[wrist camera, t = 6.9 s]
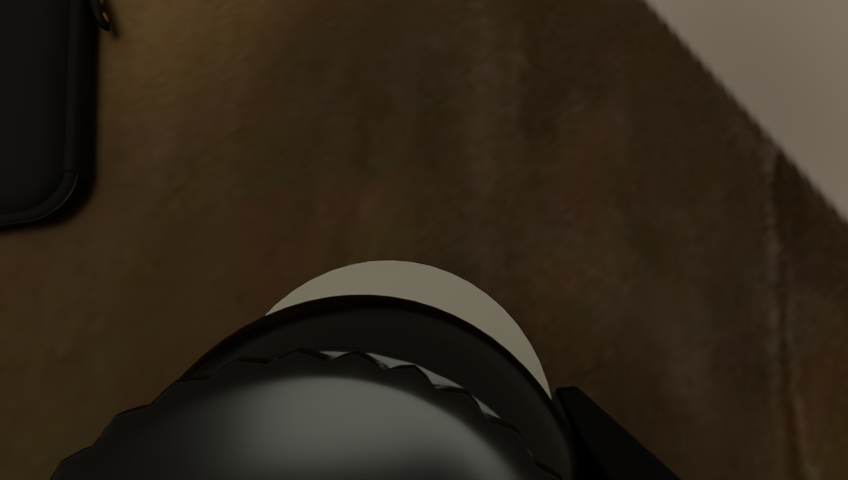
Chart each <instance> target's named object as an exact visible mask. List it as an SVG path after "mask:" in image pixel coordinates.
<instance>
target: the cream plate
mask: <svg viewBox="0 0 848 480" xmlns="http://www.w3.org/2000/svg"><path fill="white" fill-rule="evenodd" d="M341 295H382V296H392V297H398V298H403V299H408V300H413V301H417V302H420V303H423V304H427V305H430V306H433V307H436V308H438V309H441V310H443V311H446V312H448V313H451V314H453V315H455V316H457V317H459V318H461V319H463V320H465V321H467V322H469V323H470V324H472V325H474V326H476V327H477V328H479V329H480V330H482V331H483V332H485V333H486V334H488V335H489V336H491V337H492V338H494V339H495V340H496V341H497V342H499V343H500V344H501V345H502V346H503V347H505V348H506V349H507V350H508V351H510V352H511V353H512V354H513V355H514V356H515V357H516V358H517V359H518V360H519V361H520V362H521V363H522V364H523V365H524V366H525V367H526V368H527V369H528V370H529V371H530V373H531V374H532V375H533V376H534V377H535V379H536V380H537V381H538V382H539V383H540V384H541V386H542V387H543V388H544V390H545V391H546V393H547V394H548V396H549V397H550V398H551V395H550V391H549V387H548V383H547V380H546V378H545V375H544V372H543V369H542V367H541V364H540V362H539V360H538V358H537V356H536V354H535V352H534V350H533V348H532V346H531V344H530V342H529V341H528V339H527V338H526V336H525V335H524V334H523V332H522V331H521V329H520V328H519V326H518V325H517V324H516V322H515V321H514V320H513V319H512V318H511V317H510V316H509V315H508V313H507V312H506V311H505V310H504V309H503V308H502V307H501V306H500V305H499V304H497V303H496V302H495V301H494V300H493V299H492V298H491V297H489V296H488V295H487V294H486V293H484V292H483V291H481V290H480V289H478V288H477V287H475V286H474V285H472V284H471V283H469V282H468V281H466V280H464V279H462V278H460V277H458V276H456V275H454V274H452V273H449V272H446V271H443V270H441V269H438V268H435V267H432V266H428V265H423V264H418V263H413V262H404V261H392V260H390V261H370V262H364V263H359V264H353V265H349V266H345V267H342V268H339V269H336V270H333V271H330V272H327V273H325V274H323V275H321V276H319V277H316V278H314V279H312V280H310V281H308V282H307V283H305V284H304V285H302V286H300V287H299V288H297V289H295V290H294V291H292V292H291V293H290V294H289V295H287V296H286V297H285V298H284V299H282V300H281V301H280V302H279V303H277V304H276V305H275V306H274V307H273V308H272V309H271V310H270V311H269V312H268V313H267V314H266V315H268V314H271V313H273V312H276V311H278V310H281V309H283V308H286V307H289V306H292V305H295V304H299V303H302V302H305V301H309V300H315V299H320V298H325V297H331V296H341ZM266 315H265V316H266Z"/></svg>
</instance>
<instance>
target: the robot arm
mask: <svg viewBox="0 0 848 480" xmlns="http://www.w3.org/2000/svg"><path fill="white" fill-rule="evenodd" d="M551 400H552V401H553V403H554V404H555V406H556V407H557V409H558V411H559V413H560V414H561V416H562V418H563V420H564V421H565V423H566V425H567V427H568V429H569V431H570V433H571V435H572V437H573V440H574V442H575V444H576V446H577V448H578V450H579V453H580V456H581V459H582V461H583V464H584V467H585V470H586V472H587V475H588V479H589V480H681V479H680V478H679V477H678V476H677V475H676V474H674V473H673V472H672V471H671V470H670V469H669V468H668V467H667V466H665V465H664V464H663V463H662V462H661V461H660V460H659V459H658V458H656V457H655V456H654V455H653V454H652V453H651V452H650V451H649V450H647V449H646V448H645V447H644V446H643V445H642V444H641V443H640V442H638V441H637V440H636V439H635V438H634V437H633V436H632V435H631V434H629V433H628V432H627V431H626V430H625V429H624V428H623V427H622V426H620V425H619V424H618V423H617V422H616V421H615V420H614V419H613V418H611V417H610V416H609V415H608V414H607V413H606V412H605V411H604V410H603V409H601V408H600V407H599V406H598V405H597V404H596V403H595V402H594V401H592V400H591V399H590V398H589V397H588V396H587V395H586V394H585V393H583V392H582V391H581V390H580V389H579V388H577V387H574V386H571V387H562V388H556V389H554V390H553V392H552V397H551Z"/></svg>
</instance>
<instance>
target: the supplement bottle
mask: <svg viewBox="0 0 848 480" xmlns="http://www.w3.org/2000/svg"><path fill="white" fill-rule="evenodd" d="M50 480H589V479H588V475H587V472H586V470H585V467H584V464H583V461H582V459H581V456H580V453H579V450H578V448H577V446H576V444H575V442H574V440H573V437H572V435H571V433H570V431H569V429H568V427H567V425H566V423H565V421H564V420H563V418H562V416H561V414H560V413H559V411H558V409H557V407H556V406H555V404H554V403H553V401H552V400H551V398H550V397H549V396H548V394H547V393H546V391H545V390H544V388H543V387H542V386H541V384H540V383H539V382H538V381H537V380H536V379H535V377H534V376H533V375H532V374H531V373H530V371H529V370H528V369H527V368H526V367H525V366H524V365H523V364H522V363H521V362H520V361H519V360H518V359H517V358H516V357H515V356H514V355H513V354H512V353H511V352H510V351H508V350H507V349H506V348H505V347H503V346H502V345H501V344H500V343H499V342H497V341H496V340H495V339H494V338H492V337H491V336H489V335H488V334H486V333H485V332H483V331H482V330H480V329H479V328H477V327H476V326H474V325H472V324H470V323H469V322H467V321H465V320H463V319H461V318H459V317H457V316H455V315H453V314H451V313H448V312H446V311H443V310H441V309H438V308H436V307H433V306H430V305H427V304H423V303H420V302H417V301H413V300H408V299H403V298H398V297H392V296H382V295H341V296H331V297H325V298H320V299H315V300H309V301H305V302H302V303H299V304H295V305H292V306H289V307H286V308H283V309H281V310H278V311H276V312H273V313H271V314H268V315H266V316H264V317H262V318H260V319H258V320H256V321H254V322H252V323H250V324H248V325H246V326H244V327H242V328H241V329H239V330H238V331H236V332H235V333H233V334H231V335H230V336H228V337H227V338H225V339H223V340H222V341H221V342H220V343H218V344H217V345H216V346H214V347H213V348H212V349H210V350H209V351H208V352H207V353H205V354H204V355H203V356H202V357H201V358H200V359H199V360H197V361H196V362H195V363H194V364H193V365H192V366H191V367H190V368H189V369H188V370H187V371H186V372H185V373H184V374H183V375H182V376H181V377H180V378H179V379H178V380H176V381H174V382H173V383H172V384H171V385H170V386H169V387H167V388H166V389H165V390H164V391H163V392H162V393H161V394H160V395H159V396H158V397H157V398H156V399H155V400H154V401H153V402H152V403H151V404H148V405H142V406H139V407H136V408H132V409H129V410H126V411H123V412H121V413H119V414H117V415H116V416H115V417H114V418H113V419H112V420H111V422H110V423H109V424H108V425H107V426H106V427H105V429H104V430H103V432H102V434H101V436H100V437H99V438H98V439H97V441H96V442H95V443H94V444H93V445H92V446H89V447H87V448H84V449H82V450H80V451H78V452H76V453H74V454H73V455H71V456H69V457H67V458H65V459H64V460H62V461H61V462H60V463H59V465H58V466H57V468H56V470H55V471H54V473H53V475H52V476H51V478H50Z"/></svg>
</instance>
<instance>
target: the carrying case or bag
mask: <svg viewBox="0 0 848 480" xmlns="http://www.w3.org/2000/svg"><path fill="white" fill-rule="evenodd" d="M93 15H94V17H95V19H96V21H97V23H98V24H99V26H100V27H101V28H102V29H104V30H106V31H109V30H110V21H109V17H108V14H107V11H106V8H105V5H104V2H103V0H0V229H5V228H12V227H19V226H26V225H34V224H39V223H44V222H47V221H50V220H52V219H54V218H56V217H58V216H60V215H61V214H63V213H64V212H65V211H67V210H68V209H69V208H70V207H71V206H72V205H73V204H74V203H75V202H76V200H77V198H78V197H79V195H80V193H81V191H82V189H83V185H84V181H89V179H90V172H89V151H90V117H91V83H92V49H93Z"/></svg>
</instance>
